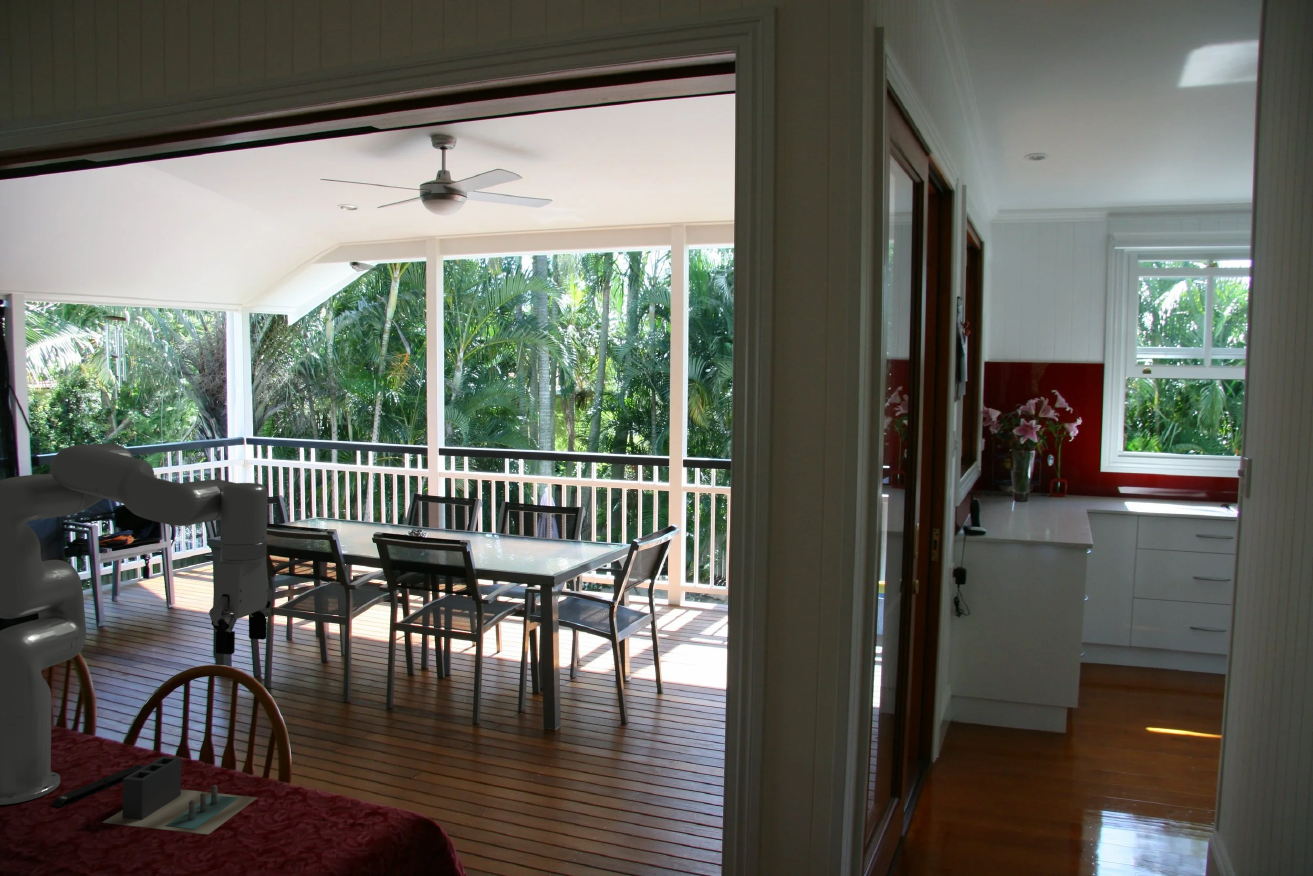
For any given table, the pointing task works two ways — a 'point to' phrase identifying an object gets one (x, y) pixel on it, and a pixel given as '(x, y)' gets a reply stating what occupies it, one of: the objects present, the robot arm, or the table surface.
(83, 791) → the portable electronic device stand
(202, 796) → the pin board
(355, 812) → the table surface
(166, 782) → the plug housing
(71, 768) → the table surface
